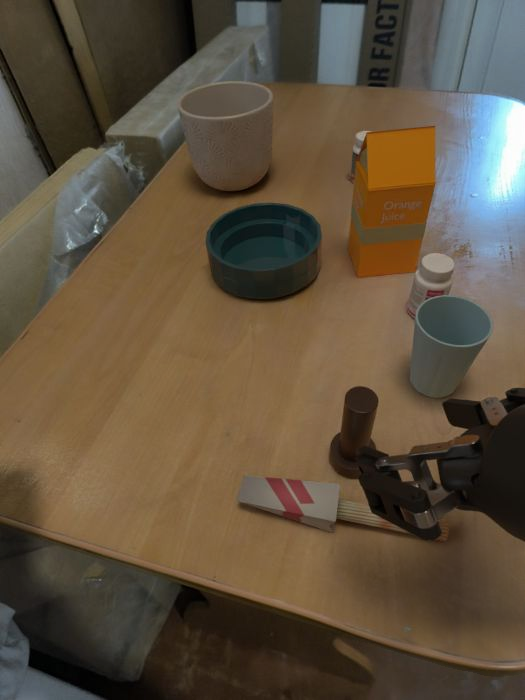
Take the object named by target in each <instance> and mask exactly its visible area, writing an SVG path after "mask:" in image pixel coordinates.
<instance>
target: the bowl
mask: <svg viewBox="0 0 525 700" xmlns="http://www.w3.org/2000/svg"><path fill="white" fill-rule="evenodd" d="M205 235H206V236H205V241H204V243H205V247H206V254H207V259H208V264H209V269H210V272H211V275H212V276H213V280H214V281H215V282H216V283H217V284H218V285H219V286H220V287H221V288H222V289H223V290H225V291H227V292H228V293H231V294H233V295H236V296H238V297H241V298H242V297H243V298H248V299H255V300H261V299H277V298H280V297H284V296H288V295H292V294H293V293H296V292H298V291H299V290H301V289H303V288H305V287H306V286H308V285H309V284H310V283H311V282H312V281H313V280H314V279H315V278H316V276H317V275H318V274H319V271H320V268H321V266H322V248H323V246H322V245H323V232H322V226H321V224H320V223H319V221H318V219H316V218H315V216H314V215H312V214H311V213H309V212H308V211H306V210H304V209H303V208H301V207H297V206H294V205H292V204H288V203H279V202H258V203H251V204H246V205H243V206H239V207H236V208H234V209H232V210H229V211H227V212H225V213H223V214H222V215H221V216H219V217H218V218H216V219H215V220H214V221H213V222H212V224H211V225H210V226H209V228H208V230H206V234H205Z"/></svg>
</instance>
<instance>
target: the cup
mask: <svg viewBox="0 0 525 700" xmlns="http://www.w3.org/2000/svg"><path fill="white" fill-rule="evenodd" d="M493 330H494V322H493V319H492V316H491V315H490V313H489V312H488V311H487V310H486V308H484V307H483V306H482V305H481V304H479V303H477V302H476V301H474V300H471V299H468V298H467V297H464V296H463V297H462V296H460V295H454V294H453V295H452V294H451V295H450V294H449V295H441V296H435V297H432V298H429V299H427V300H425V301H424V302H422V303H421V304H420V305H419V307H418V309H417V311H416V316H415V319H414V327H413V338H412V348H411V357H410V366H409V367H410V368H409V381H410V383H411V386H412V387H413V388H414V390H415V391H417V392H418V393H420V394H421V395H423V396H426V397H429V398H433V399H441V398H446V397H448V396H450V395H452V394H453V393H454V392H455V391H456V389H457V388H458V386H459V385H460V383H461V382H462V380H463V378H464V377H465V375H466V374H467V373H468V371H469V369H470V368H471V366H472V365H473V363H474V362H475V360H476V359H477V357H478V355H479V354H480V352H481V350H482V349H483V348H484V346H485V345H486V343H487V341H488V340H489V339H490V337H491V335H492V333H493Z"/></svg>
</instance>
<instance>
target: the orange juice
mask: <svg viewBox="0 0 525 700" xmlns="http://www.w3.org/2000/svg"><path fill="white" fill-rule="evenodd" d="M436 184H437V182H436V125H429V126H428V125H427V126H418V127H407V128H397V129H387V130H377V131H372V132H367V133H366V136H365V139H364V142H363V144H362V147H361V150H360V153H359V155H358V158H357V161H356V168H355V179H354V183H353V191H352V199H351V209H350V224H349V234H348V235H349V236H348V237H349V238H348V247H347V249H348V253H349V256H350V258H351V261H352V264H353V268H354V270H355V274H356V277H357V278H367V277H377V276H384V275H385V276H388V275H397V274H408V273H416V268H417V264H418V260H419V255H420V251H421V247H422V243H423V239H424V236H425V233H426V227H427V221H428V218H429V214H430V208H431V205H432V201H433V196H434V192H435V188H436Z"/></svg>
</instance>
